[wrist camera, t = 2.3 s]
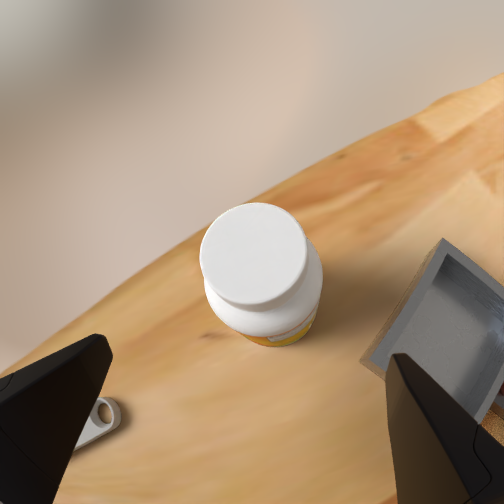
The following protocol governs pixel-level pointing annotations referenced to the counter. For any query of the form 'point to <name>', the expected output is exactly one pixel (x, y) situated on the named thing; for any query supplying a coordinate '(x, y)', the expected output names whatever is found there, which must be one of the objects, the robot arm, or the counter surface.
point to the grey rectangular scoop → (450, 330)
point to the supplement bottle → (261, 274)
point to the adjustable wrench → (99, 422)
